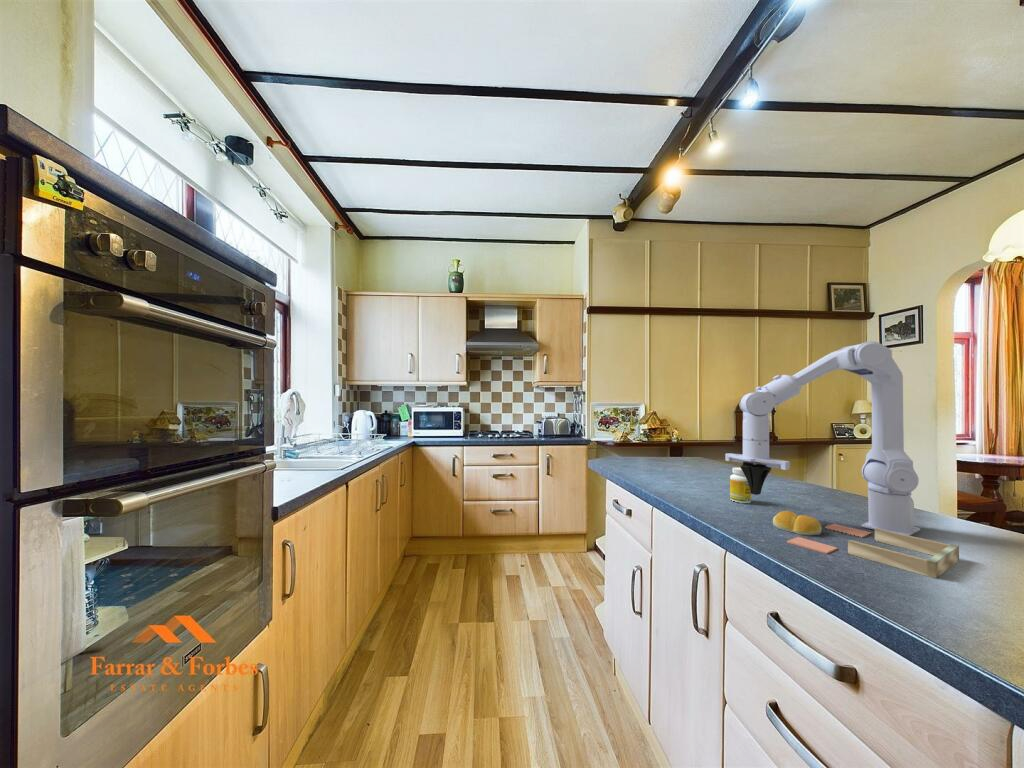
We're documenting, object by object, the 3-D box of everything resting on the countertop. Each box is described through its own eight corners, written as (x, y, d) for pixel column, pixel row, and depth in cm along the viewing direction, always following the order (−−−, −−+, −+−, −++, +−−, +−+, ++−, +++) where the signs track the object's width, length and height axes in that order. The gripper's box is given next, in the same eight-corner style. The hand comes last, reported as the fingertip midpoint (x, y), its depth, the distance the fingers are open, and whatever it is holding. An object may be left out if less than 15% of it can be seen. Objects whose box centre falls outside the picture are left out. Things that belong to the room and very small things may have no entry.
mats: (833, 524, 95) (833, 523, 95) (871, 533, 89) (871, 532, 89) (786, 542, 83) (786, 541, 83) (826, 554, 77) (826, 552, 77)
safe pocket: (876, 539, 85) (876, 527, 85) (959, 560, 75) (958, 545, 75) (847, 553, 77) (847, 539, 77) (935, 578, 67) (935, 562, 67)
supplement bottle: (733, 498, 119) (733, 466, 119) (753, 501, 115) (753, 468, 116) (727, 501, 115) (727, 468, 116) (747, 505, 112) (747, 471, 112)
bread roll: (817, 539, 85) (817, 521, 86) (769, 528, 92) (769, 511, 92) (826, 531, 91) (826, 514, 91) (780, 521, 98) (780, 505, 98)
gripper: (718, 437, 104) (718, 489, 103) (779, 443, 91) (779, 502, 91) (733, 436, 108) (733, 486, 107) (793, 442, 95) (794, 499, 95)
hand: (755, 493), depth 99 cm, fingers closed
